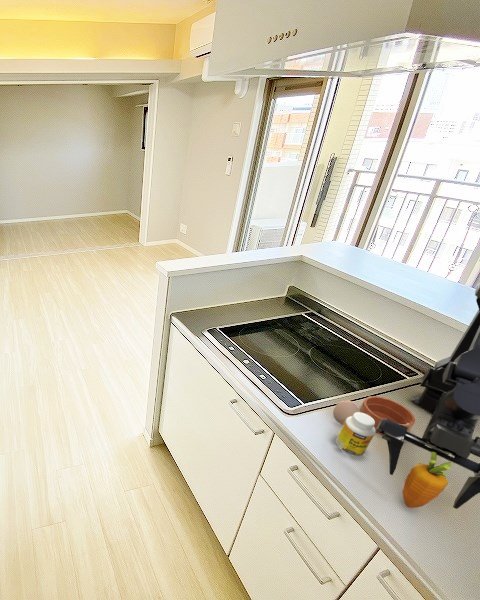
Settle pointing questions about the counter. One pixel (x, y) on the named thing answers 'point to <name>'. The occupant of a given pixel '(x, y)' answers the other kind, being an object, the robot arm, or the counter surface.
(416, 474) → the carrot
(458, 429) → the robot arm
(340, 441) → the supplement bottle
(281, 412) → the counter surface
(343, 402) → the egg
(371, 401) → the bowl
